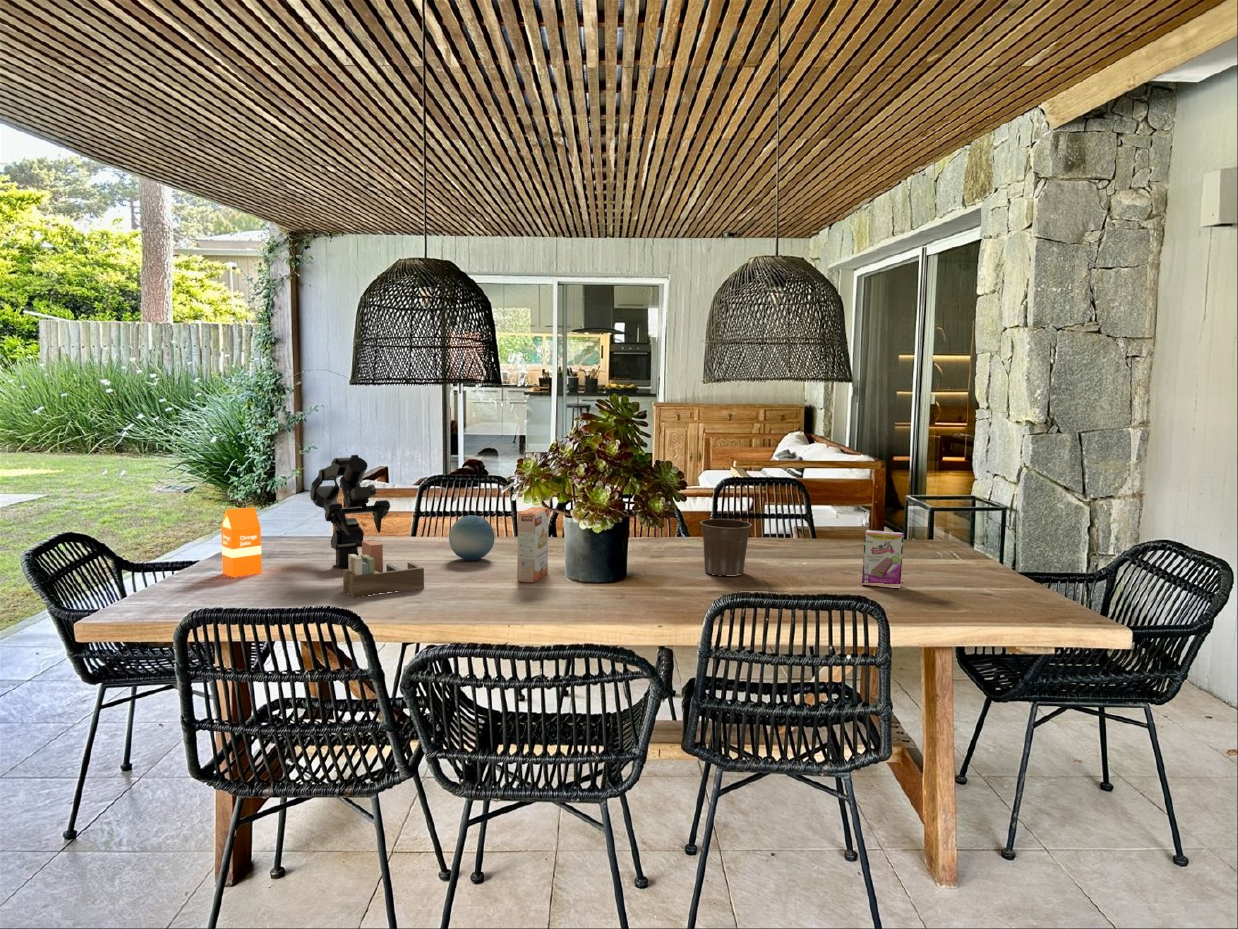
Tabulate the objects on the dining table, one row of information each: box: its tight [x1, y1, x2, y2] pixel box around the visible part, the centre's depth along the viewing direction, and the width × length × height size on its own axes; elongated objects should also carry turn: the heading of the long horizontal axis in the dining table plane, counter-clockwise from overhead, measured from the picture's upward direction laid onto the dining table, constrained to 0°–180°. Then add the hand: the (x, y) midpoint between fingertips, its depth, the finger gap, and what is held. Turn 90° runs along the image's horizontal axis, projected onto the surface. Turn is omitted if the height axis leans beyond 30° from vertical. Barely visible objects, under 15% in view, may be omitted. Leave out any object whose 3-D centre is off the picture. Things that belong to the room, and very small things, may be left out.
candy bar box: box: [861, 529, 905, 584], centre depth 244 cm, size 11×5×16 cm, turn 71°
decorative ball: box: [448, 514, 496, 561], centre depth 272 cm, size 15×15×15 cm
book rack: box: [342, 554, 425, 599], centre depth 232 cm, size 10×20×10 cm, turn 125°
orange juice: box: [220, 506, 263, 578], centre depth 249 cm, size 8×9×20 cm
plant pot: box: [699, 518, 753, 576], centre depth 258 cm, size 16×16×16 cm
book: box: [361, 539, 384, 573], centre depth 240 cm, size 8×4×12 cm, turn 35°
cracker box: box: [516, 506, 550, 584], centre depth 248 cm, size 14×6×21 cm, turn 168°
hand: (364, 533), depth 246 cm, fingers open, 9 cm apart
